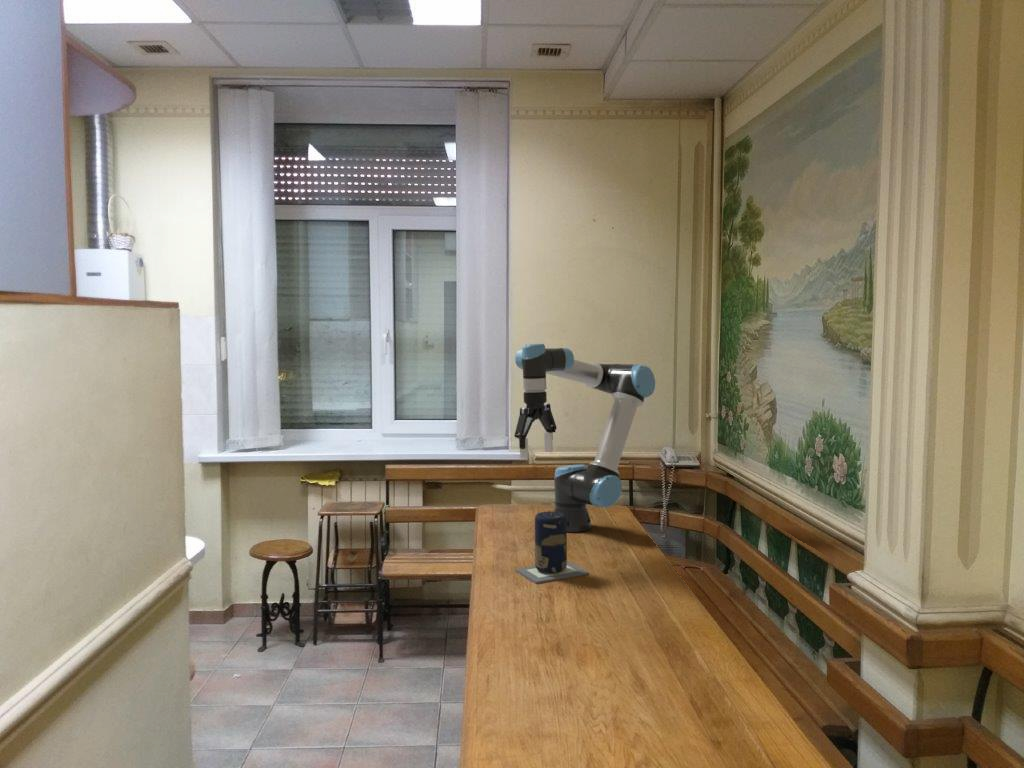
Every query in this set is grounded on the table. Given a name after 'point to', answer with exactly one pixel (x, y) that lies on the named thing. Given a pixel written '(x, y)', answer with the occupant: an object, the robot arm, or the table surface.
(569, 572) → the mat
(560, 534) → the canister
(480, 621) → the table surface
